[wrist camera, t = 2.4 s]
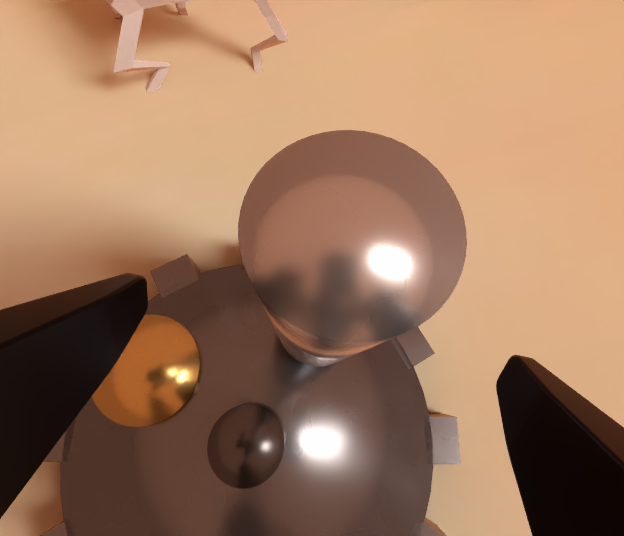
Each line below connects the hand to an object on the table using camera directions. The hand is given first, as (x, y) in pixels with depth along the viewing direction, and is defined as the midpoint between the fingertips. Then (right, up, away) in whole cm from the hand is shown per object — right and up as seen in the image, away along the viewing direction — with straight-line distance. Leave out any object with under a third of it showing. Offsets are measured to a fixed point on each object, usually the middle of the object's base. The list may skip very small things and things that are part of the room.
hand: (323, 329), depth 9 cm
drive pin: (0, -1, +7) cm, 8 cm away
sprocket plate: (-3, -6, +7) cm, 10 cm away
